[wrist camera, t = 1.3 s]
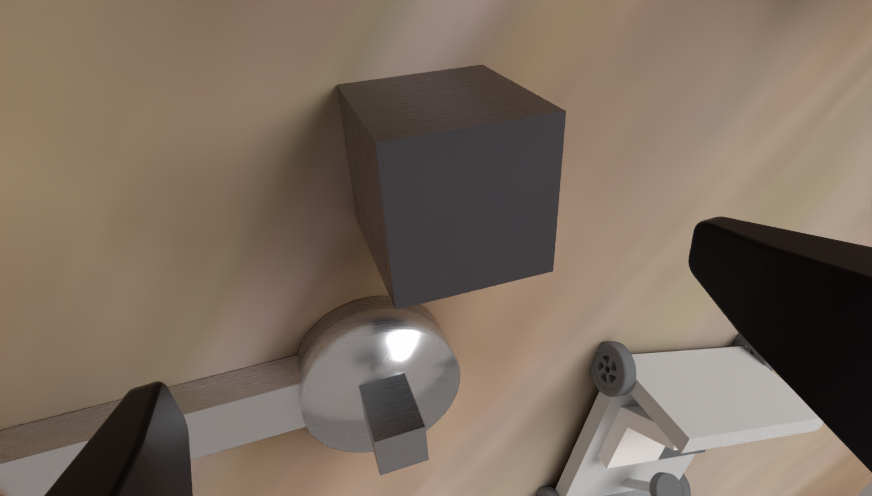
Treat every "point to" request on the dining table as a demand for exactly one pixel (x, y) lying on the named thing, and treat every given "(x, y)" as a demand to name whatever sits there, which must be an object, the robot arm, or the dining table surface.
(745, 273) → the robot arm
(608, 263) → the dining table surface
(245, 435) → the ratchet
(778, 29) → the dining table surface
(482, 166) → the dark grey block
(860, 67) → the dining table surface
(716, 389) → the toy car
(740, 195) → the dining table surface
